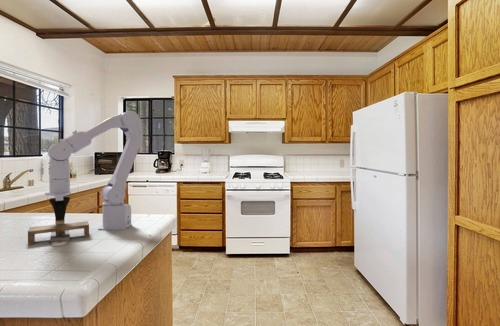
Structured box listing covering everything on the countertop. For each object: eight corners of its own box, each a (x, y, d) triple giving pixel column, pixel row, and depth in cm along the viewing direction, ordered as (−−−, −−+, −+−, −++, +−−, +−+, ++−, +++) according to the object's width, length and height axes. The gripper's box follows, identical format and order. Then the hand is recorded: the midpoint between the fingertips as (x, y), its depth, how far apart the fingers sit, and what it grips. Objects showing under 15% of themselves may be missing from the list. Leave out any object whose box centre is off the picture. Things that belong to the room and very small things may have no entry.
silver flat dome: (69, 243, 88) (69, 240, 88) (63, 247, 84) (63, 244, 84) (55, 243, 88) (55, 240, 87) (48, 247, 84) (48, 244, 84)
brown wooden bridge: (87, 232, 99) (87, 221, 99) (89, 236, 94) (89, 224, 94) (30, 239, 90) (29, 227, 90) (27, 244, 85) (27, 231, 85)
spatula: (51, 234, 96) (51, 208, 96) (68, 232, 99) (68, 207, 99) (49, 243, 86) (49, 215, 86) (69, 241, 89) (68, 213, 89)
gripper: (46, 177, 99) (46, 216, 100) (43, 181, 87) (44, 225, 88) (70, 177, 103) (70, 214, 104) (70, 180, 91) (71, 222, 91)
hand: (60, 219), depth 96 cm, fingers closed on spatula
